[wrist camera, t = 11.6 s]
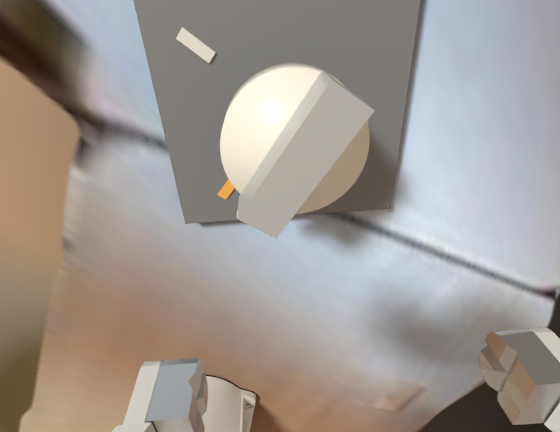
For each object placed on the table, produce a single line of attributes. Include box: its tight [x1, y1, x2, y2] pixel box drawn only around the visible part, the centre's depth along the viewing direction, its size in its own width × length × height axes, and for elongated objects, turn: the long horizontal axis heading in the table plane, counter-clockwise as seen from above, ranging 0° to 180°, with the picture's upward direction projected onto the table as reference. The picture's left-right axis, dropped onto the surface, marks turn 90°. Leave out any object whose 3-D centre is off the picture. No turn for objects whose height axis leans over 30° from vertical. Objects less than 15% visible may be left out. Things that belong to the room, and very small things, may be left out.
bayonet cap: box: [220, 63, 375, 238], centre depth 23 cm, size 10×11×6 cm
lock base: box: [134, 0, 421, 224], centre depth 29 cm, size 22×22×8 cm
